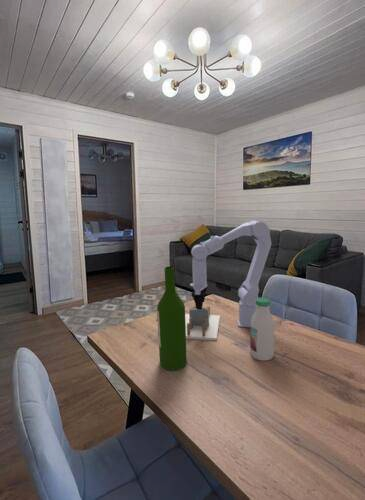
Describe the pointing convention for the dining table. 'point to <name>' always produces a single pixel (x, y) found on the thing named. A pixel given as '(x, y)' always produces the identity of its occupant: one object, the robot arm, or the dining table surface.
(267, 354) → the milk bottle
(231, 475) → the dining table surface
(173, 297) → the wine bottle
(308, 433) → the dining table surface
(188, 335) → the peg rack
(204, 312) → the slate grey rectangular block
